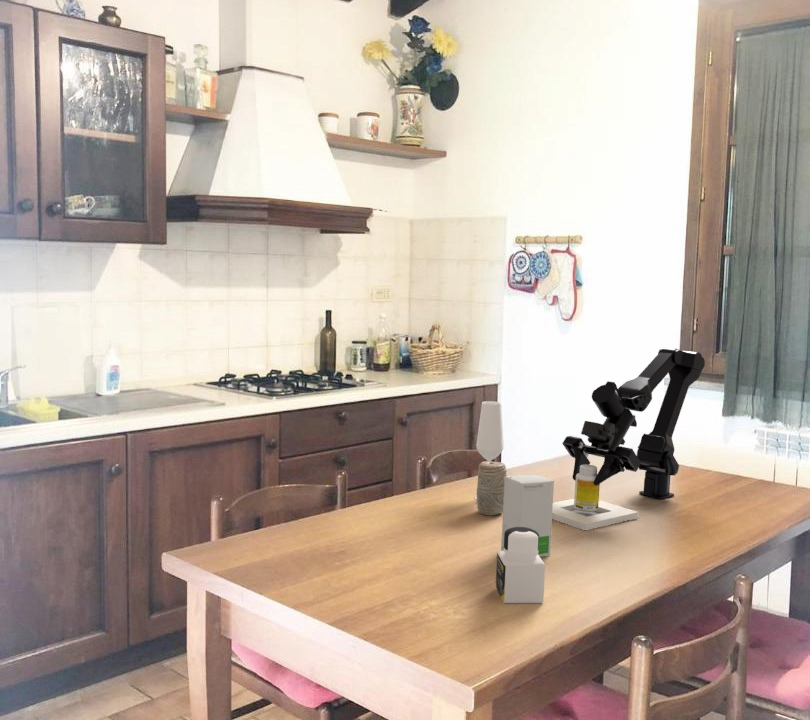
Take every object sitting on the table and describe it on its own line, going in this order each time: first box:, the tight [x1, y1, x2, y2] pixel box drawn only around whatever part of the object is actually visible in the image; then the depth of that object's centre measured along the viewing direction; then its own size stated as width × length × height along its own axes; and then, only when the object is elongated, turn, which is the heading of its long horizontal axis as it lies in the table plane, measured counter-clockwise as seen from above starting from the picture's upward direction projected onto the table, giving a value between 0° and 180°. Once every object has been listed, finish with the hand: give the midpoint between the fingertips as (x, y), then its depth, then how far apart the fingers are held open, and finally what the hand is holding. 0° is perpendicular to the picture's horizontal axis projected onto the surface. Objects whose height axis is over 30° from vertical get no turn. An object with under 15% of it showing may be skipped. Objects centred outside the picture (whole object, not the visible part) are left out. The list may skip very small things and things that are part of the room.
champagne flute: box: [474, 400, 504, 500], centre depth 216 cm, size 7×7×24 cm
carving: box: [476, 460, 508, 516], centre depth 204 cm, size 6×8×12 cm
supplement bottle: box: [573, 464, 601, 512], centre depth 205 cm, size 6×6×10 cm
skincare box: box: [500, 474, 555, 558], centre depth 177 cm, size 8×7×16 cm
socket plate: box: [552, 498, 639, 531], centre depth 205 cm, size 18×16×2 cm
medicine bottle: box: [495, 527, 546, 604], centre depth 154 cm, size 7×7×12 cm
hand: (584, 481), depth 204 cm, fingers closed on supplement bottle, 5 cm apart
